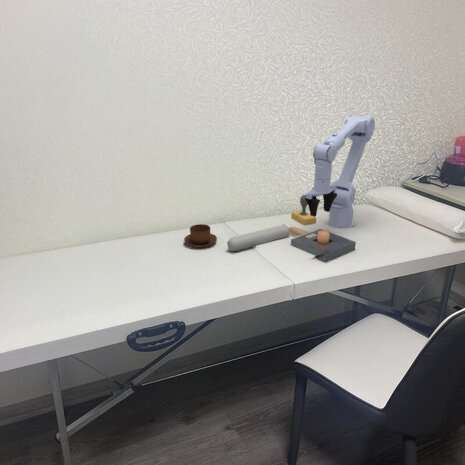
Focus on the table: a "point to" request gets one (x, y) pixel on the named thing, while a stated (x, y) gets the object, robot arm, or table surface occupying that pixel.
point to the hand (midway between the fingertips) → (320, 213)
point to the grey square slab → (324, 252)
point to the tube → (258, 237)
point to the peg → (323, 237)
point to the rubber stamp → (303, 214)
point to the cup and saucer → (200, 236)
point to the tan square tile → (296, 231)
